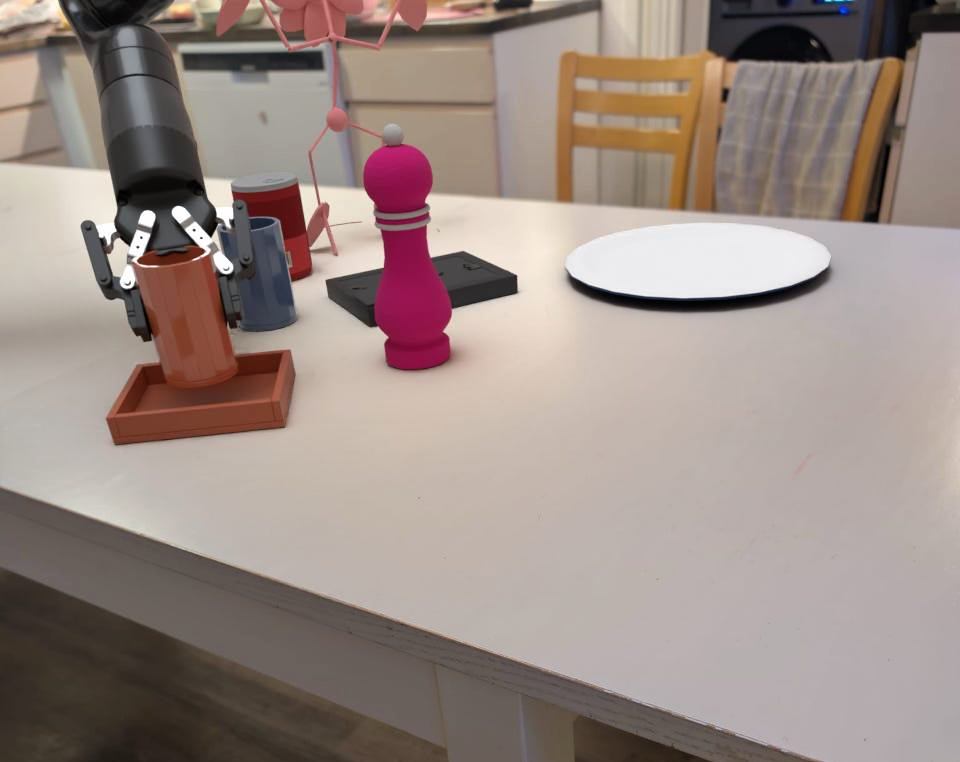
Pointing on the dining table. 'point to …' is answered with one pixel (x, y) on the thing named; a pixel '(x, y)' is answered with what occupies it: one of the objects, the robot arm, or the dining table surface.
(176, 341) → the terracotta cup
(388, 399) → the dining table surface
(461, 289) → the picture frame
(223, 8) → the figurine
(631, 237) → the plate
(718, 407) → the dining table surface
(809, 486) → the dining table surface
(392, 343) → the pepper mill
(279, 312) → the blue cup
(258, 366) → the tray
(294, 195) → the canned food
